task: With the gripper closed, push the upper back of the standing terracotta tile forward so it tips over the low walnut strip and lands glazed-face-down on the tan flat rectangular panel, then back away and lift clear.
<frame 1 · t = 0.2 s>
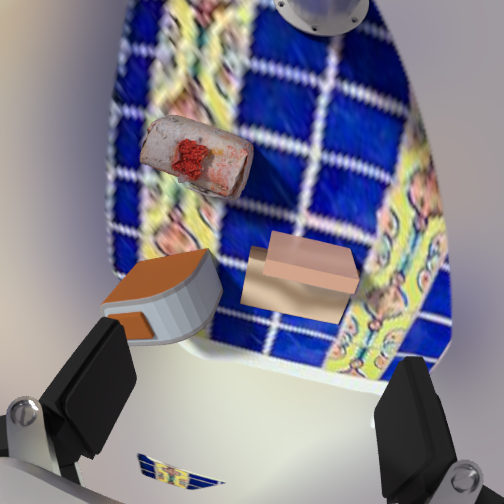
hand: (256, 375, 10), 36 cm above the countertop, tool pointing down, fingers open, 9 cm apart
tan flat rectangular panel: (297, 290, 50), on the countertop
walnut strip: (305, 262, 48), on the countertop
food item: (209, 149, 42), on the countertop
alarm clock: (176, 276, 53), on the countertop
tile: (310, 246, 46), on the countertop
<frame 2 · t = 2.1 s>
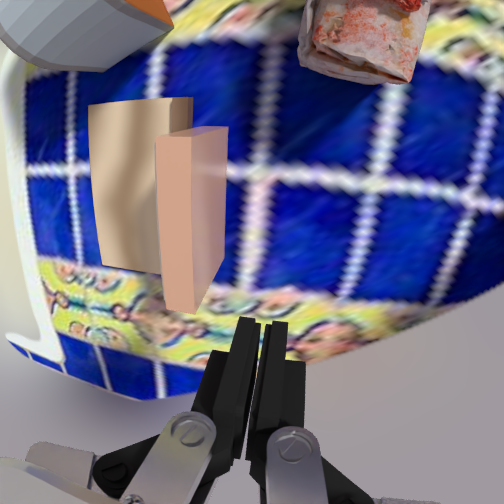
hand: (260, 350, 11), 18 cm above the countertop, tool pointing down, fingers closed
tan flat rectangular panel: (133, 189, 28), on the countertop
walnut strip: (184, 192, 27), on the countertop
food item: (359, 14, 19), on the countertop
tile: (213, 194, 27), on the countertop
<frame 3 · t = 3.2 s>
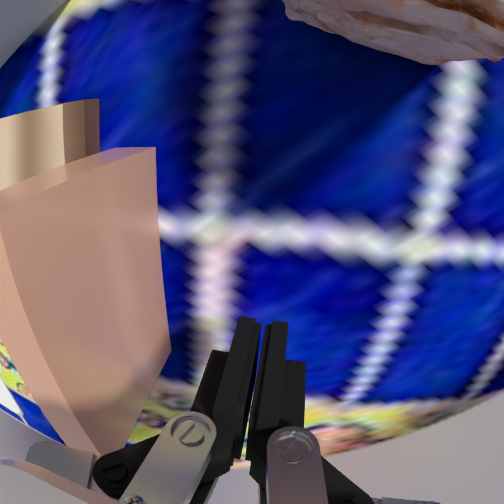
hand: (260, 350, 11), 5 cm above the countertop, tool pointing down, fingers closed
tan flat rectangular panel: (38, 246, 17), on the countertop
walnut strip: (100, 256, 16), on the countertop
tile: (143, 262, 16), on the countertop
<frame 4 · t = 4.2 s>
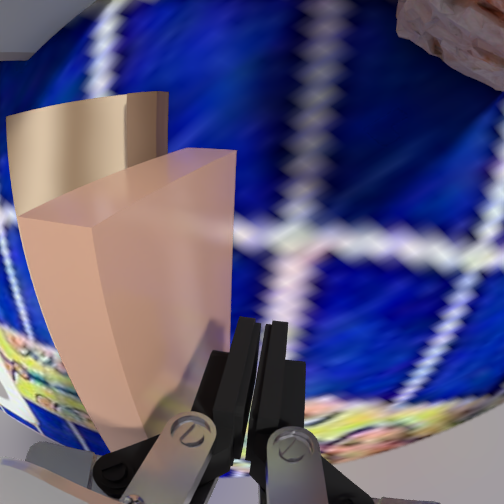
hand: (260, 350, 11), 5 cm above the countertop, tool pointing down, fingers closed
tan flat rectangular panel: (79, 254, 16), on the countertop
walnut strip: (159, 266, 16), on the countertop
tile: (209, 273, 15), on the countertop
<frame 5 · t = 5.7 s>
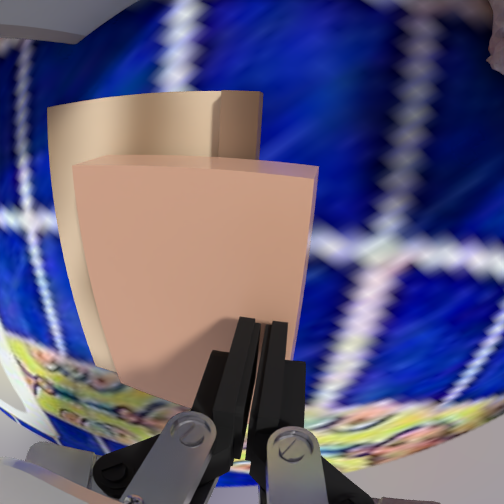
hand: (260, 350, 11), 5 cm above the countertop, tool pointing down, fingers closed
tan flat rectangular panel: (136, 266, 16), on the countertop
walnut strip: (236, 279, 15), on the countertop
tile: (297, 327, 12), point 3 cm above the countertop, tilted 97°, touching tan flat rectangular panel, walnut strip
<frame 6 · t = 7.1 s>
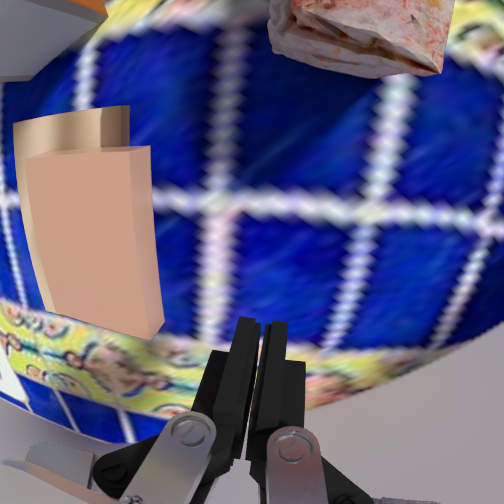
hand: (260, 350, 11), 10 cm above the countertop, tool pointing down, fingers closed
tan flat rectangular panel: (67, 225, 21), on the countertop
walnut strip: (125, 229, 21), on the countertop
tile: (147, 251, 18), point 3 cm above the countertop, tilted 97°, touching tan flat rectangular panel, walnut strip
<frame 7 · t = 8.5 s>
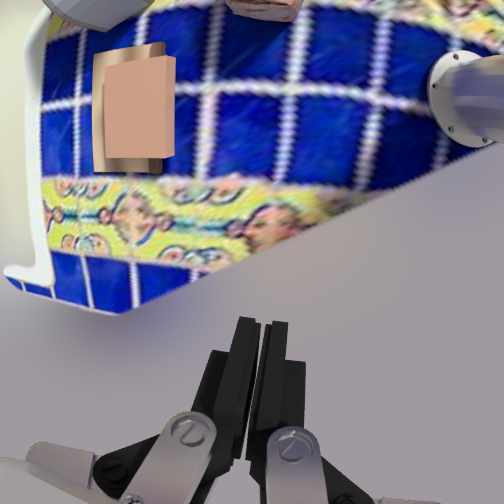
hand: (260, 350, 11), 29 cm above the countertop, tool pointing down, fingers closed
tan flat rectangular panel: (121, 109, 35), on the countertop
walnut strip: (157, 107, 35), on the countertop
tile: (169, 106, 32), point 3 cm above the countertop, tilted 97°, touching tan flat rectangular panel, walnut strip
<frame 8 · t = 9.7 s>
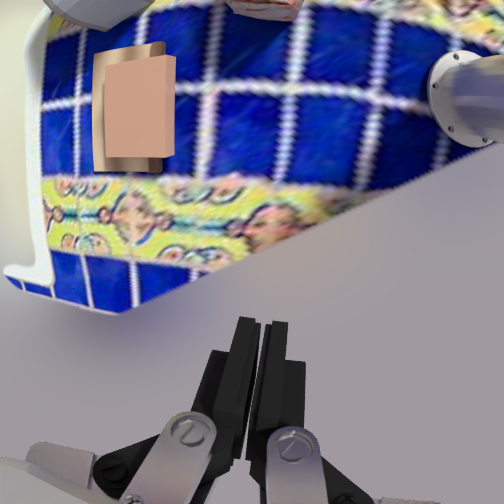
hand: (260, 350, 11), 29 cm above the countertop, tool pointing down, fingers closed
tan flat rectangular panel: (121, 108, 35), on the countertop
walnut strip: (157, 106, 35), on the countertop
tile: (169, 105, 32), point 3 cm above the countertop, tilted 97°, touching tan flat rectangular panel, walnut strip
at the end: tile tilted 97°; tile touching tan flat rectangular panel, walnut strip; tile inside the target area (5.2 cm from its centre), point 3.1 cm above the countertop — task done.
